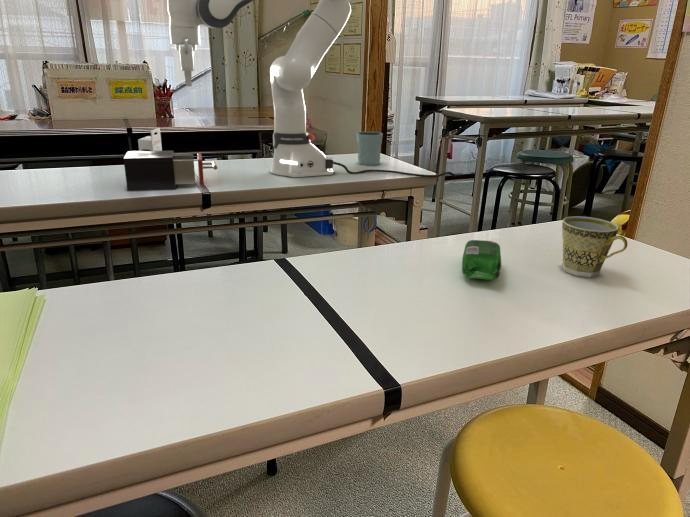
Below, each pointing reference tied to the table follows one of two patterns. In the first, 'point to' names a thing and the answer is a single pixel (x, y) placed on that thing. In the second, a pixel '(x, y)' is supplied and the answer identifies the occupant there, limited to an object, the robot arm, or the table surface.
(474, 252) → the snack package
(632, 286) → the table surface
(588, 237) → the ceramic cup
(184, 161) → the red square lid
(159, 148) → the ink box
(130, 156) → the black drawer casing
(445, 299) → the table surface
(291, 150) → the robot arm
